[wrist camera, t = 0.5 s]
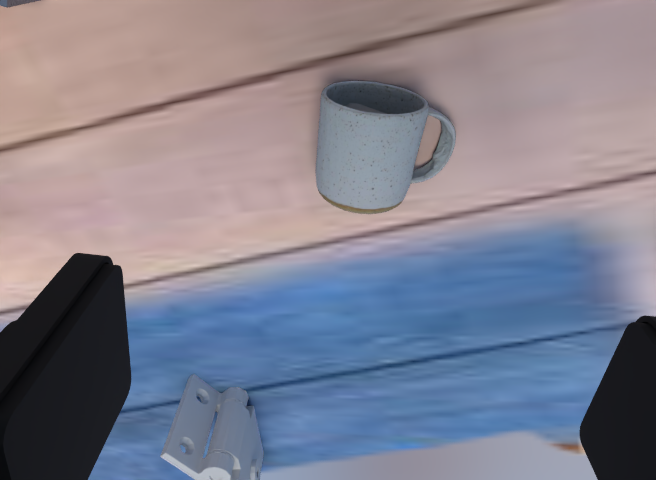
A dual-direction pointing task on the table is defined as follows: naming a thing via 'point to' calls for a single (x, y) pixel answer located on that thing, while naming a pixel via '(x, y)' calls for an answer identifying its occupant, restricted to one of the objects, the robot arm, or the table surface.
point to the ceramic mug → (374, 145)
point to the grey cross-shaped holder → (14, 2)
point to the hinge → (215, 434)
